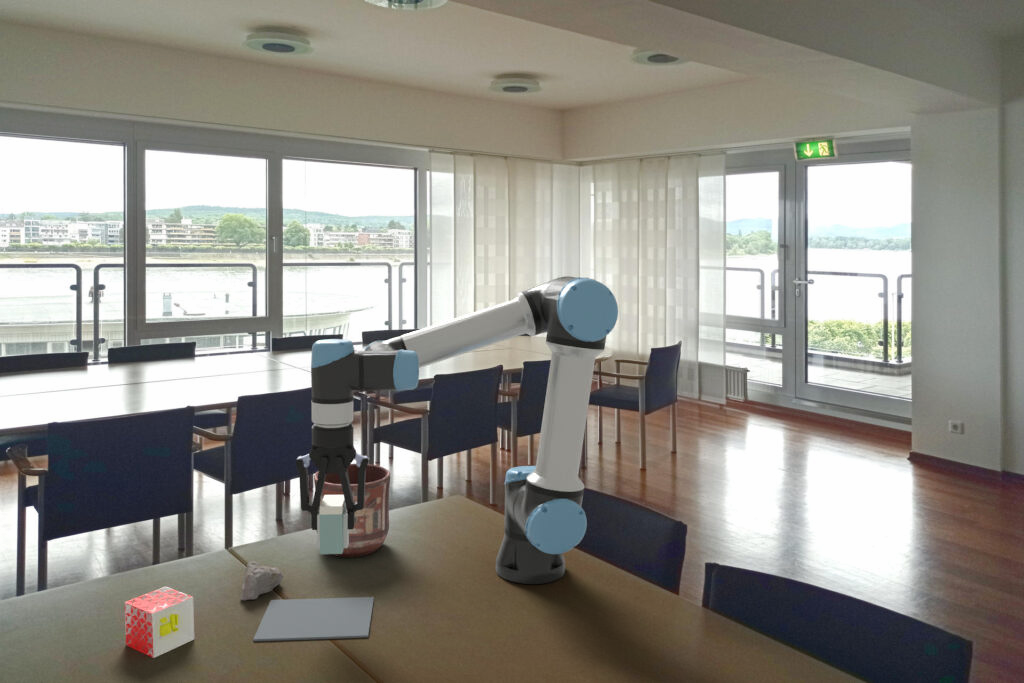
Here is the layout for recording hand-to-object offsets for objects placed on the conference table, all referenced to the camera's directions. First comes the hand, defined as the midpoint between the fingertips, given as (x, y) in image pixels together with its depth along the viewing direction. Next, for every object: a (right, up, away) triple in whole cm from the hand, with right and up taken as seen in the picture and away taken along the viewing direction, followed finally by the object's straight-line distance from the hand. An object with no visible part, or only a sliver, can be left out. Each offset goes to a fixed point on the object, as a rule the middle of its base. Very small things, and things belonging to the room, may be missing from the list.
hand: (333, 545), depth 148 cm
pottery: (-4, -10, +36) cm, 37 cm away
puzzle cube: (-28, -15, -9) cm, 33 cm away
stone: (-18, -13, +12) cm, 25 cm away
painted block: (0, 0, 0) cm, 0 cm away
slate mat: (-3, -14, 0) cm, 14 cm away
